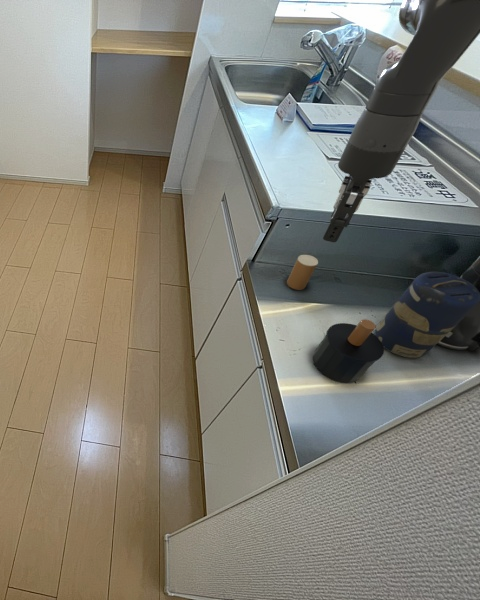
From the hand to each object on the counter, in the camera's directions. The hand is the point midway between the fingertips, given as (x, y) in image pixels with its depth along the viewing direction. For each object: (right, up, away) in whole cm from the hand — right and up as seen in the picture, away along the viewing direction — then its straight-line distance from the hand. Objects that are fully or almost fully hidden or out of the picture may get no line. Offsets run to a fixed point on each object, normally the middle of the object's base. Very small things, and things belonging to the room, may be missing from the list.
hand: (333, 229), depth 65 cm
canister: (+21, -23, +10) cm, 33 cm away
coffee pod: (+9, -9, +25) cm, 28 cm away
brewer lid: (+5, -22, +2) cm, 23 cm away
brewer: (+6, -27, +7) cm, 29 cm away
